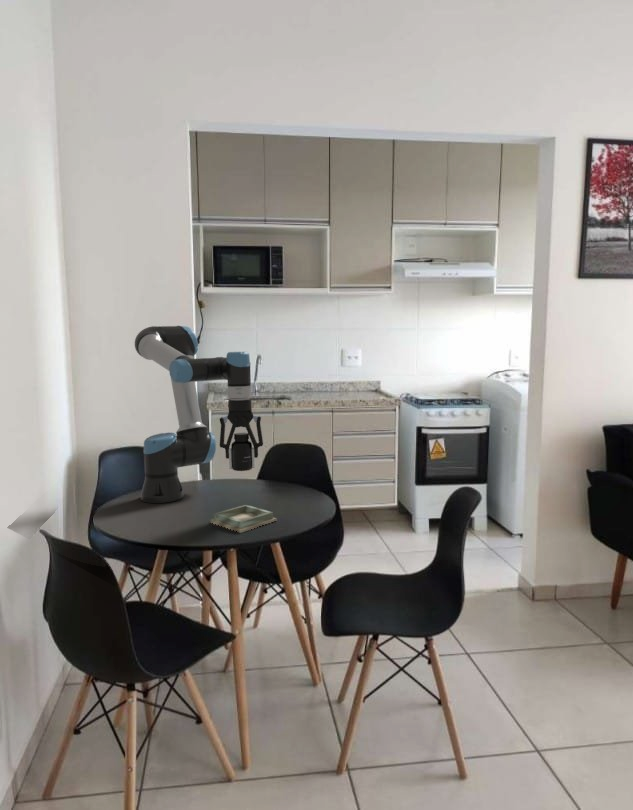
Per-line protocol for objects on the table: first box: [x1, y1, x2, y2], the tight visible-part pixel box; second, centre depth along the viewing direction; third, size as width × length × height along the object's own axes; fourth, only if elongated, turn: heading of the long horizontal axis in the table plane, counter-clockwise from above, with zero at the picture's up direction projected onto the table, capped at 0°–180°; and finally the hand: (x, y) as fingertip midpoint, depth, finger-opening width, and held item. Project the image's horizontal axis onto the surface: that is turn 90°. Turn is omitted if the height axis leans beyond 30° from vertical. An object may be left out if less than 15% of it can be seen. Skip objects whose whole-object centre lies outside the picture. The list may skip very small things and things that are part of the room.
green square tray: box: [209, 504, 278, 534], centre depth 197 cm, size 15×15×3 cm
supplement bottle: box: [230, 432, 253, 472], centre depth 205 cm, size 7×7×12 cm
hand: (242, 467), depth 205 cm, fingers closed on supplement bottle, 7 cm apart
